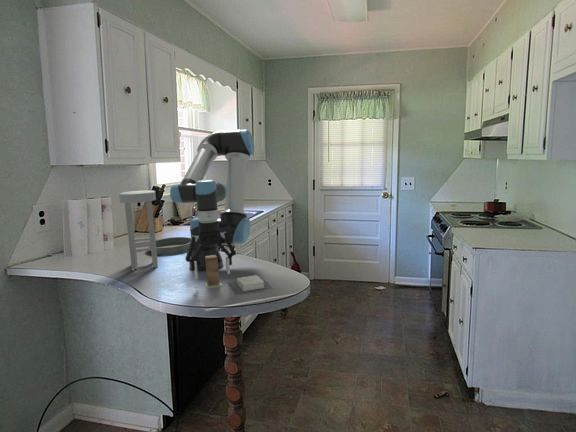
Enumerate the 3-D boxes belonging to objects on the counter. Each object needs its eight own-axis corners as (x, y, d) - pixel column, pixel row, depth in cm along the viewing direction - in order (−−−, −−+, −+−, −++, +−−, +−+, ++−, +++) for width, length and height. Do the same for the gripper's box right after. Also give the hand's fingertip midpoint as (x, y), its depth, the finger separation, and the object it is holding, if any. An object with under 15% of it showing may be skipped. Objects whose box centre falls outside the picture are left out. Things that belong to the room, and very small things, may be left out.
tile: (236, 278, 160) (243, 284, 152) (256, 275, 163) (263, 281, 155) (237, 284, 161) (243, 291, 153) (256, 281, 164) (264, 288, 155)
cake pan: (157, 245, 239) (156, 237, 238) (199, 243, 238) (198, 236, 237) (140, 256, 214) (139, 248, 214) (187, 255, 213) (186, 246, 213)
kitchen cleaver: (244, 244, 228) (229, 247, 221) (244, 246, 228) (229, 249, 221) (220, 239, 246) (205, 241, 239) (220, 240, 246) (206, 243, 239)
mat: (227, 284, 164) (227, 282, 164) (260, 278, 169) (260, 277, 169) (236, 296, 150) (236, 294, 150) (273, 289, 155) (273, 288, 155)
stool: (128, 263, 201) (120, 191, 195) (161, 259, 205) (154, 189, 200) (126, 272, 186) (118, 195, 180) (162, 267, 191) (155, 192, 185)
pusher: (207, 283, 163) (204, 256, 161) (217, 281, 164) (215, 254, 162) (209, 286, 159) (207, 258, 157) (219, 284, 161) (217, 257, 159)
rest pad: (204, 285, 163) (204, 282, 163) (219, 282, 166) (219, 280, 165) (207, 290, 158) (207, 287, 158) (222, 287, 160) (222, 284, 160)
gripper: (177, 226, 150) (182, 283, 153) (241, 219, 158) (245, 273, 162) (174, 222, 157) (179, 277, 160) (236, 216, 165) (240, 268, 169)
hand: (212, 275), depth 161 cm, fingers open, 12 cm apart
